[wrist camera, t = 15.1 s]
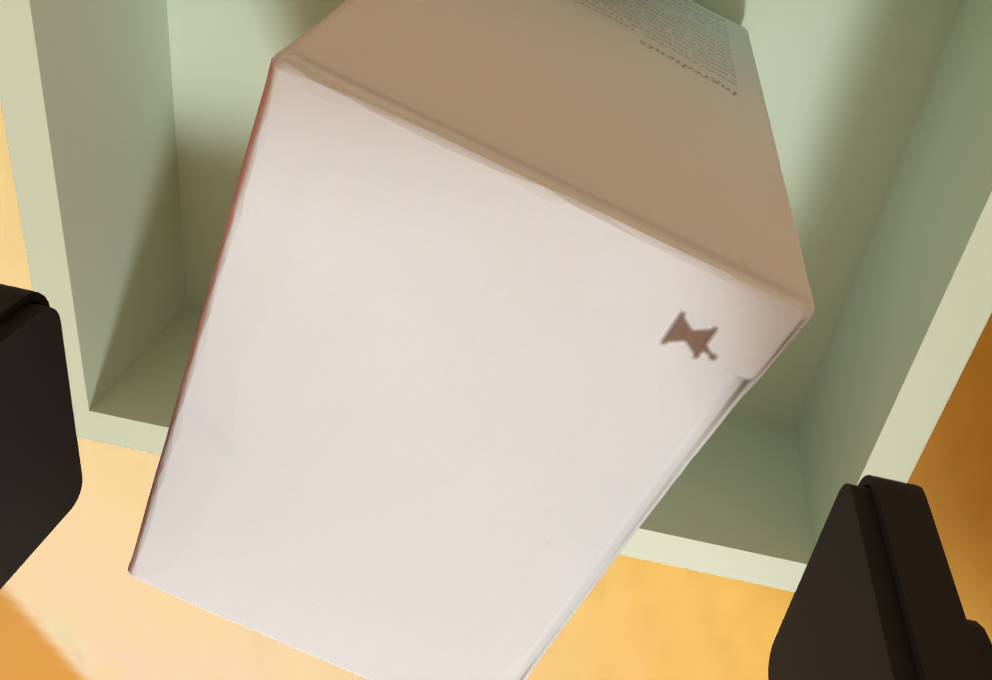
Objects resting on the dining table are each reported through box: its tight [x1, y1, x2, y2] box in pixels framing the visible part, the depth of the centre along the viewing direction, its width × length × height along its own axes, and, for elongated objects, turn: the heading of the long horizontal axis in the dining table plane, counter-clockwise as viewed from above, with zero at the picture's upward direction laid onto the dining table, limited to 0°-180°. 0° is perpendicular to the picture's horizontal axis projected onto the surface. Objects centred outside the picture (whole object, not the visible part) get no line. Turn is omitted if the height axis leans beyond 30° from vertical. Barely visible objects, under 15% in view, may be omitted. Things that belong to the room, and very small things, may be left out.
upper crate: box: [0, 0, 992, 592], centre depth 17 cm, size 17×13×5 cm
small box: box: [128, 0, 815, 680], centre depth 15 cm, size 8×6×10 cm
